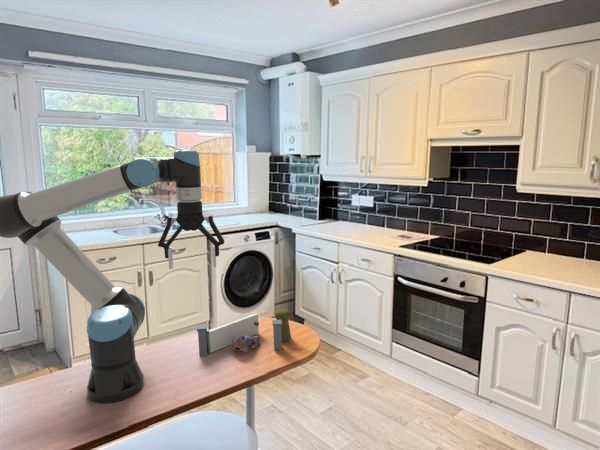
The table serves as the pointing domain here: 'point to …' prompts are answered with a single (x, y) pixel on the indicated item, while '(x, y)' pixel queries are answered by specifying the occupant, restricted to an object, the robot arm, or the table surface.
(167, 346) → the table surface
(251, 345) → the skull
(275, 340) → the post
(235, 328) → the gate
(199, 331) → the hinge post
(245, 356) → the table surface
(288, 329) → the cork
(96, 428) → the table surface
